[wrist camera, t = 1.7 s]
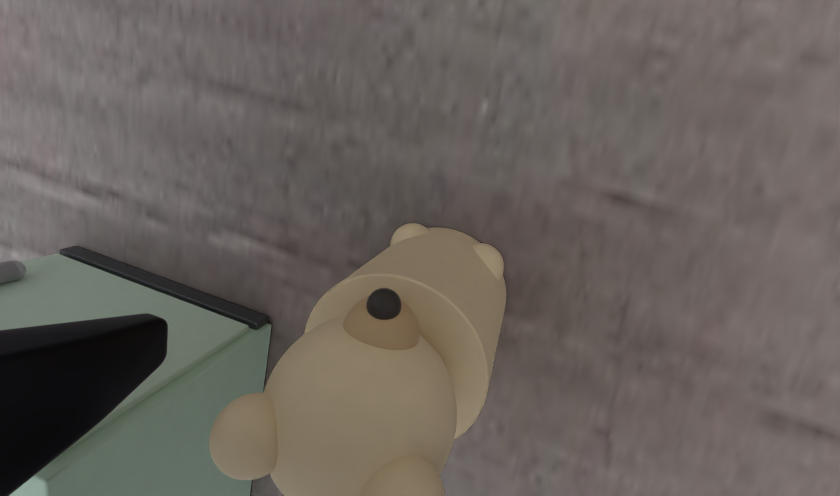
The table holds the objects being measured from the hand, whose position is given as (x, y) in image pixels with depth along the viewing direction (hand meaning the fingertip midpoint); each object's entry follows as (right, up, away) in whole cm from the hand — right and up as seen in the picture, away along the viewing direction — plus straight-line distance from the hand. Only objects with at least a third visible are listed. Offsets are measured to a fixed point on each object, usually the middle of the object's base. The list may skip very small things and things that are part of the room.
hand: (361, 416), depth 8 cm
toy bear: (+2, +2, +6) cm, 7 cm away
